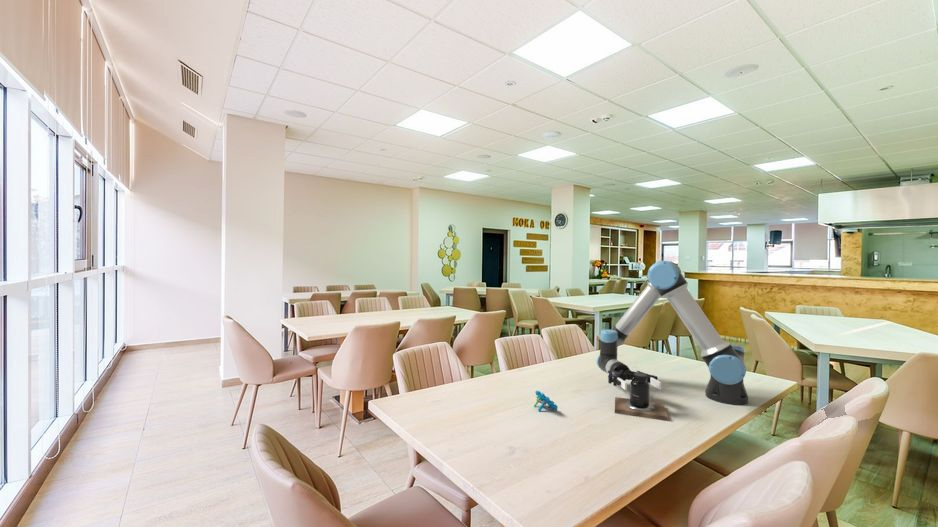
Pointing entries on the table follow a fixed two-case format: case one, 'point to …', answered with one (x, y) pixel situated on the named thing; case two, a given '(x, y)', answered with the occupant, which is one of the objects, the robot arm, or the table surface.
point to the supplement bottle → (639, 391)
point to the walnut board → (641, 409)
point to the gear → (544, 401)
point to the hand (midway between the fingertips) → (643, 386)
